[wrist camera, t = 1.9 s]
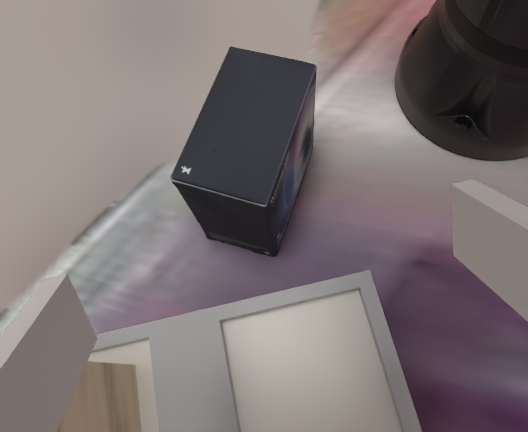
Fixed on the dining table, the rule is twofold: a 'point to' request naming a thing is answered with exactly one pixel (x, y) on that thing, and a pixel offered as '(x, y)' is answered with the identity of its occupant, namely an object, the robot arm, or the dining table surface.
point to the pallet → (270, 364)
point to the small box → (249, 149)
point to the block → (104, 400)
